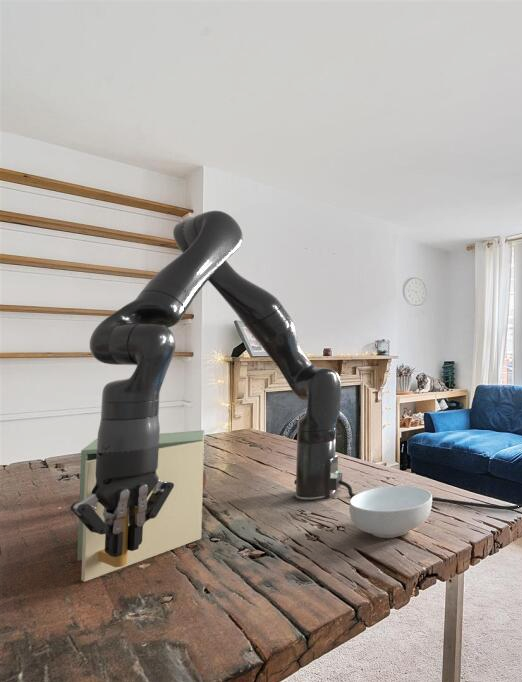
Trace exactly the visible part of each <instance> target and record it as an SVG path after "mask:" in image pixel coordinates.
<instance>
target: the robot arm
mask: <svg viewBox="0 0 522 682" xmlns="http://www.w3.org/2000/svg"><path fill="white" fill-rule="evenodd" d="M172 234H173V239H174V241H175V244H176V245H177V247H178V249H179V250H180V251H181V254H180V255H179V256H177V257H176V258H175V259H173V260H172V261H171V262H170V263H168V264H167V265H165V266H164V267H163V268H162V269H161V270H160V271H158V272H157V273H156V274H155V275H154V276H153V277H152V278H151V279H150V281H148V282H147V284H146V285H145V286H144V287H143V289H142V291H140V293H139V294H138V295H137V297H136V298H135V299H134V300H133V301H130V302H129V303H127V304H125V305H123V306H122V307H121V308H119V309H118V310H116V311H115V312H114V313H112V314H111V315H109V316H108V317H106V318H105V319H103V320H102V321H101V322H99V323H98V325H97V326H96V328H94V331H92V334H91V336H90V339H89V350H90V353H91V355H92V356H93V358H95V360H97V361H98V362H100V363H103V364H106V365H111V366H112V365H115V366H136V367H135V369H134V371H133V373H132V374H131V376H130V377H128V378H124V379H116V380H113V381H110V382H108V383H106V384H105V385H104V386H103V389H102V393H101V408H100V422H99V427H98V430H97V438H98V439H97V438H96V439H97V457H96V485H95V486H94V488H93V490H92V495H90V496H89V497H87V498H86V499H84V500H83V501H81V502H79V501H74V502H73V503H72V504H71V505H70V510H71V511H72V512H73V513H74V515H75V516H76V517H77V518H78V520H79V519H80V520H81V521H82V522H83V524H84V525H85V526H86V527H87V528H88V529H89V530H90V531H91V532H95V533H98V534H101V535H103V534H105V552H106V553H107V554H109V555H110V556H112V557H118V556H120V555H122V547H123V532H121V531H122V526H123V518H124V517H125V516H126V510H127V508H129V521H128V524H129V526H128V550H130V551H134V550H137V549H138V548H139V545H140V544H141V543H142V536H143V525H144V523H145V522H146V521H148V520H149V519H153V518H155V517H156V516H157V514H158V513H159V511H160V509H161V508H162V506H163V504H164V502H165V501H166V499H167V497H168V496H169V494H170V492H171V490H172V489H173V487H174V484H173V483H171V482H166V481H160V480H159V478H158V476H157V474H156V470H157V468H158V452H159V438H160V436H159V434H161V433H160V430H161V428H160V419H159V413H160V412H159V411H160V410H159V409H160V393H161V390H162V389H161V388H162V387H163V384H164V381H165V378H166V374H167V372H168V369H169V367H170V364H171V363H172V360H173V358H174V354H175V352H176V338H175V335H174V333H173V332H172V330H171V329H170V328H172V327H174V326H176V325H177V324H179V322H180V321H181V320H182V318H183V317H184V315H185V314H186V312H187V311H188V309H189V308H190V306H191V305H192V303H193V301H194V300H195V298H196V297H197V295H198V294H199V293H200V291H201V290H202V288H204V286H205V284H206V283H207V282H209V283H210V284H211V285H212V287H213V288H214V289H215V290H216V291H217V292H218V293H219V295H220V296H221V297H222V298H223V299H224V301H225V302H226V303H227V304H228V306H229V307H230V308H231V310H233V312H234V313H235V314H236V315H237V317H238V318H239V320H240V322H242V324H243V325H244V327H245V328H246V329H247V330H248V332H249V333H250V334H251V336H252V337H253V338H254V339H255V340H256V342H257V343H258V344H259V345H260V347H261V348H262V349H263V350H264V351H265V353H266V354H267V355H268V356H269V358H270V359H271V360H272V361H273V363H274V364H275V365H276V366H277V368H278V370H279V371H280V373H281V374H282V376H283V378H284V379H285V381H286V383H287V384H288V386H289V387H290V389H291V391H292V392H293V394H294V395H295V396H296V397H297V398H298V399H299V400H301V401H303V402H307V405H306V412H305V414H304V415H303V416H301V417H300V418H298V420H297V426H296V427H297V431H296V433H297V434H296V470H295V472H296V473H295V480H294V485H295V494H294V495H295V496H294V497H295V498H296V500H299V501H316V500H323V499H330V498H331V497H332V496H334V495H335V493H336V492H338V489H339V488H340V487H341V486H343V487H345V488H347V490H348V495H349V497H351V498H352V497H354V496H355V495H356V494H355V493H353V488H352V486H351V485H350V484H349V483H348V482H345V481H344V480H343V472H338V470H339V469H338V468H339V461H338V460H339V455H338V454H336V443H337V441H336V439H337V422H338V419H339V417H340V413H341V401H342V400H341V399H342V382H341V377H340V375H339V374H338V372H337V371H336V370H334V369H332V368H328V367H317V366H315V365H314V364H313V363H312V361H310V360H309V358H308V357H307V356H306V354H305V353H304V351H303V350H302V348H301V346H300V344H299V340H298V335H297V331H296V326H295V323H294V321H293V319H292V317H291V316H290V314H289V313H288V311H287V310H286V309H285V307H284V306H283V305H282V303H281V302H280V300H279V299H278V298H277V297H276V296H275V295H274V294H273V293H271V292H270V291H268V290H266V289H264V288H263V287H261V286H259V285H257V284H256V283H253V282H252V281H250V280H248V279H247V278H245V277H243V276H242V275H240V273H238V272H237V271H236V270H235V269H234V268H233V267H232V265H231V264H230V263H229V262H228V261H227V260H228V259H229V258H230V257H232V256H233V255H234V254H235V253H236V252H237V251H238V250H239V249H240V248H241V246H242V244H243V239H244V237H243V230H242V229H241V226H240V224H239V223H238V222H237V221H236V220H235V218H233V217H232V216H231V215H230V214H228V213H227V212H224V211H221V210H210V211H205V212H203V213H200V214H197V215H194V216H192V217H190V218H187V219H185V220H182V221H180V222H178V223H176V224H175V225H174V227H173V231H172ZM151 491H152V494H151V496H150V497H149V499H148V501H147V497H148V496H149V494H150V493H151ZM97 501H98V502H99V503H100V504H102V505H103V506H104V512H103V516H104V518H105V520H104V522H103V520H102V519H101V518H100V517H99V516H98V514H97V513H96V512H95V510H97V505H96V502H97ZM432 502H437V503H446V504H452V505H453V504H454V505H462V506H467V507H476V508H485V509H494V510H504V511H512V510H518V509H522V508H521V507H522V503H520V504H515V505H499V504H488V503H480V502H471V501H463V500H457V499H456V500H455V499H450V498H449V499H448V498H442V497H433V496H432ZM518 506H519V507H518Z"/></svg>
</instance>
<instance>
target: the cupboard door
mask: <svg viewBox="0 0 522 682" xmlns="http://www.w3.org/2000/svg"><path fill="white" fill-rule="evenodd" d="M204 453H205V440H204V441H198V442H192V443H187V444H181V445H175V446H170V447H164V448H159V452H158V468H157V470H156V474H157V476H158V478H159V480H160V481H166V482H171V483H173V484H174V487H173V489H172V490H171V492H170V494H169V496H168V497H167V499H166V501H165V502H164V504H163V506H162V508H161V509H160V511H159V513H158V514H157V516H156V517H155V518H153V519H149V520H148V521H146V522H145V523H144V525H143V536H142V543H141V544H140V545H139V548H138V549H137V550H134V551H130V550H128V526H129V524H128V521H129V508H127V510H126V516H125V517H124V518H123V526H122V531H121V532H123V547H122V555H120V556H118V557H112V556H110V555H109V554H107V553H106V552H105V534H103V535H101V534H98V533H95V532H91V531H90V530H89V529H88V528H87V527H86V526H85V525H84V524H83V546H82V560H81V579H80V580H81V582H84V583H85V582H87V581H88V582H89V581H90V580H93V579H96V578H98V577H101V576H104V575H107V574H109V573H112V572H115V571H118V570H121V569H123V568H125V567H128V566H132V565H134V564H137V563H139V562H142V561H144V560H148V559H151V558H152V557H156V556H158V555H161V554H163V553H166V552H169V551H171V550H175V549H177V548H180V547H183V546H185V545H189V544H191V543H194V542H196V541H199V540H202V527H203V526H202V524H203V495H204V493H203V492H204V490H203V470H204V455H205V454H204ZM95 485H96V459H95V460H89V461H85V487H84V499H86V498H87V497H89V496H90V495H92V490H93V488H94V486H95ZM151 494H152V491H151V493H150V494H149V496H148V497H147V501H148V499H149V497H150V496H151ZM96 505H97V510H95V512H96V513H97V514H98V516H99V517H100V518H101V519H102V520H103V522H104V520H105V518H104V516H103V512H104V506H103V505H102V504H100V503H99V502H98V501H97V502H96Z"/></svg>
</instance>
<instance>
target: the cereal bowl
mask: <svg viewBox="0 0 522 682" xmlns="http://www.w3.org/2000/svg"><path fill="white" fill-rule="evenodd" d="M432 497H433V494H432V493H431V492H430V491H429V490H428V489H425V488H423V487H418V486H413V485H389V486H387V485H386V486H380V487H376V488H371V489H368V490H363V491H361V492H359V493H357V494H355V496H354V497H351V498H350V500H349V505H348V506H349V515H350V516H349V517H350V519H351V522H352V523H353V524H354V526H355V527H356V528H358V529H359V530H361V531H362V532H364V533H368V534H372V535H373V536H374V537H377V538H381V539H392V538H399V537H401V536H404V535H406V534H407V533H409V532H410V531H412V530H414V529H416V528H418V527H419V526H421V525H422V524H423V523H424V522H425V521H426V520H427V519H428V517H429V516H430V513H431V511H432V506H433V501H432Z"/></svg>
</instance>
